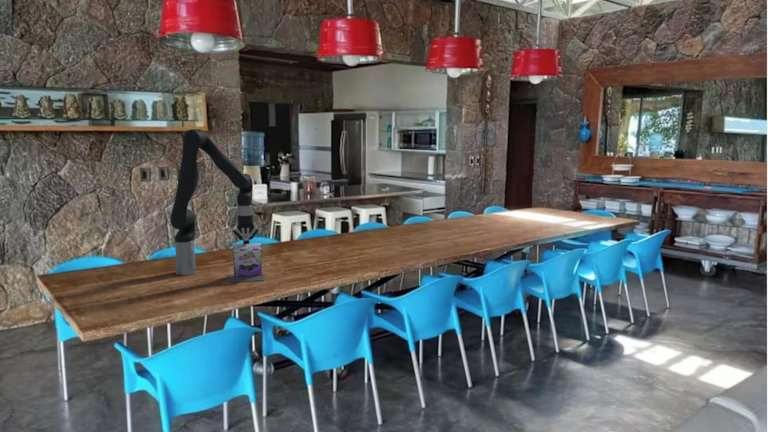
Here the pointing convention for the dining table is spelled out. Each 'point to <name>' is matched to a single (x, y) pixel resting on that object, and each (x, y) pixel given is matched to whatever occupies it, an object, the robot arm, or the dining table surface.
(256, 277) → the mat
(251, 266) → the candy box
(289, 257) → the dining table surface
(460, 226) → the dining table surface
